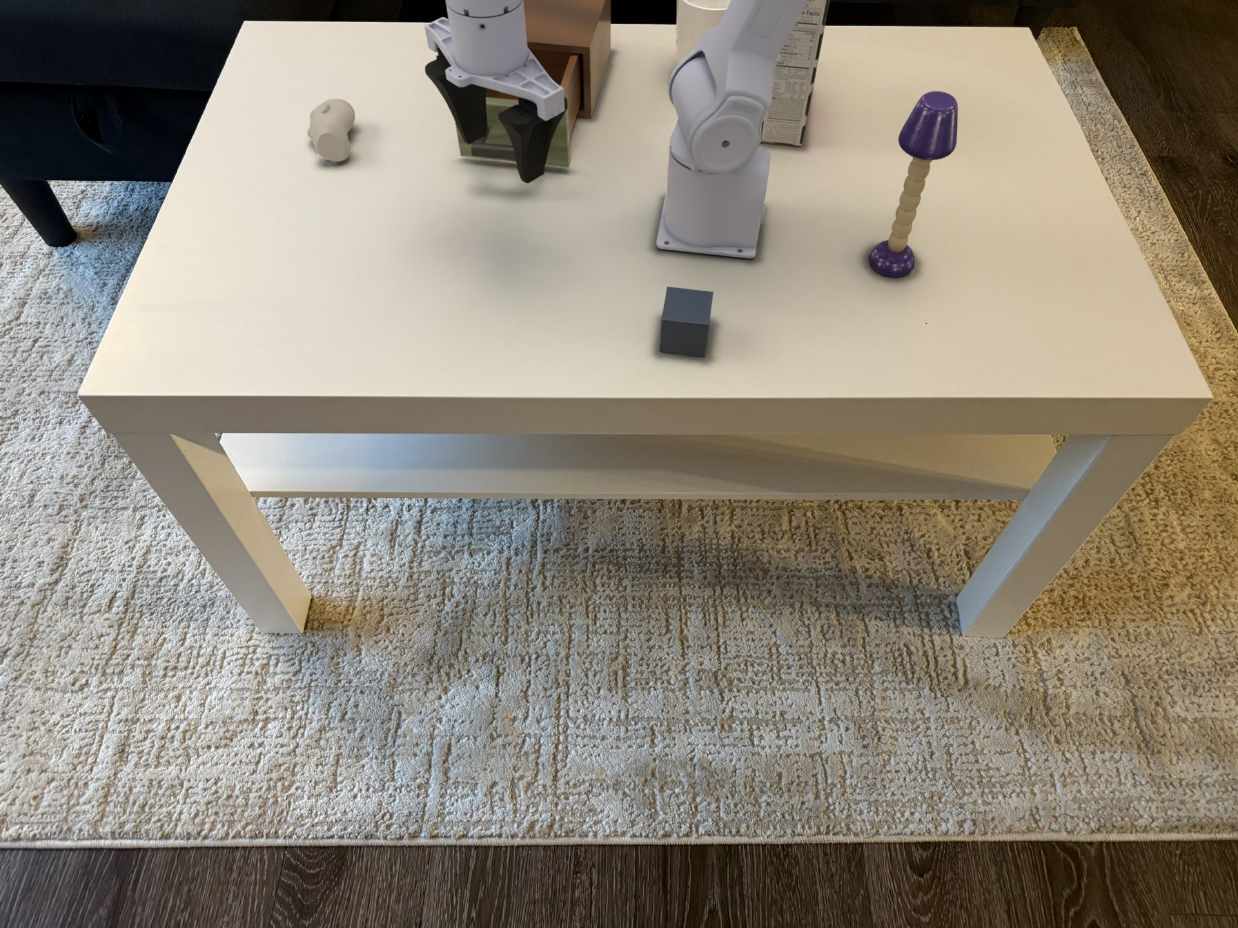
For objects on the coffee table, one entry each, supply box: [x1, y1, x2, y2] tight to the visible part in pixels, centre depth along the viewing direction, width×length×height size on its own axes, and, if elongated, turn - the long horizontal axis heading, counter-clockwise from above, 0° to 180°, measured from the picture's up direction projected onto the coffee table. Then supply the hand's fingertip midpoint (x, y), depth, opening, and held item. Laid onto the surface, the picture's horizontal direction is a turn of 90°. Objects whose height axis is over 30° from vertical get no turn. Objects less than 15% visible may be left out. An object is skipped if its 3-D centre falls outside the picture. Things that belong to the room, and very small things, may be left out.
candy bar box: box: [760, 0, 831, 147], centre depth 89 cm, size 11×5×16 cm, turn 171°
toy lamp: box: [868, 90, 959, 278], centre depth 75 cm, size 5×5×17 cm
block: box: [658, 286, 714, 358], centre depth 75 cm, size 4×4×4 cm
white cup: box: [675, 0, 731, 66], centre depth 96 cm, size 8×8×10 cm
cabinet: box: [524, 0, 612, 119], centre depth 96 cm, size 14×13×8 cm
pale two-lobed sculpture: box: [306, 98, 356, 162], centre depth 91 cm, size 4×8×5 cm
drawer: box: [454, 49, 583, 168], centre depth 89 cm, size 17×11×6 cm
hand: (503, 157), depth 75 cm, fingers open, 7 cm apart
